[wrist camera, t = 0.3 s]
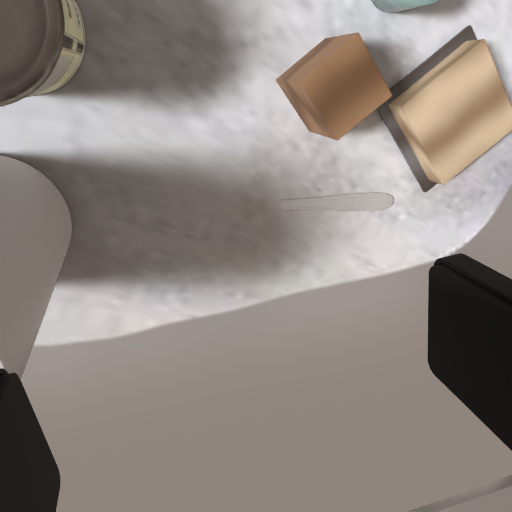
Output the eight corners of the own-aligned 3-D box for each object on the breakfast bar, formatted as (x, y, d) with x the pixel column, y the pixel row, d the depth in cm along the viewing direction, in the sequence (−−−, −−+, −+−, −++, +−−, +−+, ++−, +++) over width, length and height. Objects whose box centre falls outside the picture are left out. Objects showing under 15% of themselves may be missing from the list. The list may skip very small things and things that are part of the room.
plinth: (373, 102, 46) (388, 104, 43) (467, 25, 45) (489, 22, 43) (423, 191, 51) (439, 198, 48) (508, 123, 51) (529, 126, 48)
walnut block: (275, 79, 43) (300, 80, 36) (325, 38, 43) (358, 32, 36) (309, 131, 45) (337, 140, 39) (356, 92, 45) (392, 95, 39)
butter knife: (390, 218, 51) (396, 193, 50) (145, 226, 45) (144, 197, 44) (388, 216, 52) (393, 191, 50) (145, 223, 45) (144, 195, 44)
